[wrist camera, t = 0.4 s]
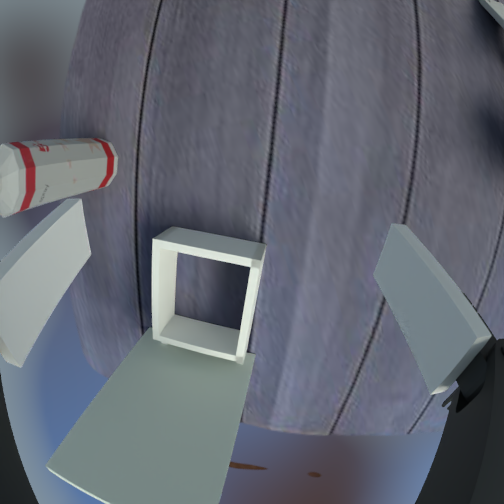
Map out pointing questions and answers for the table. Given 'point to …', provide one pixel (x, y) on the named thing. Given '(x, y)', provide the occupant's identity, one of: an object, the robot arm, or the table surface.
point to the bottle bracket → (169, 394)
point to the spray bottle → (52, 171)
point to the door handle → (494, 10)
